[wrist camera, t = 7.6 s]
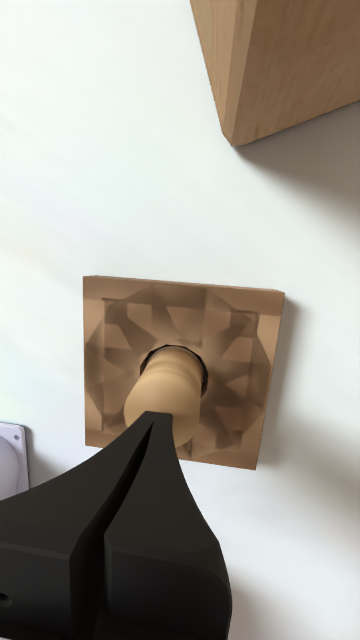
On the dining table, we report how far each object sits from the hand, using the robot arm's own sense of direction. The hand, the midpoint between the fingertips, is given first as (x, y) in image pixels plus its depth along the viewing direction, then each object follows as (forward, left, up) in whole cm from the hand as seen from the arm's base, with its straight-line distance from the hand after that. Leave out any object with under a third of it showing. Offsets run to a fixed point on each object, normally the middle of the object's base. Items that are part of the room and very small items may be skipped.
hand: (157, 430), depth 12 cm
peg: (0, 0, -8) cm, 8 cm away
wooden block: (+21, -5, -8) cm, 23 cm away
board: (0, 0, -8) cm, 8 cm away
